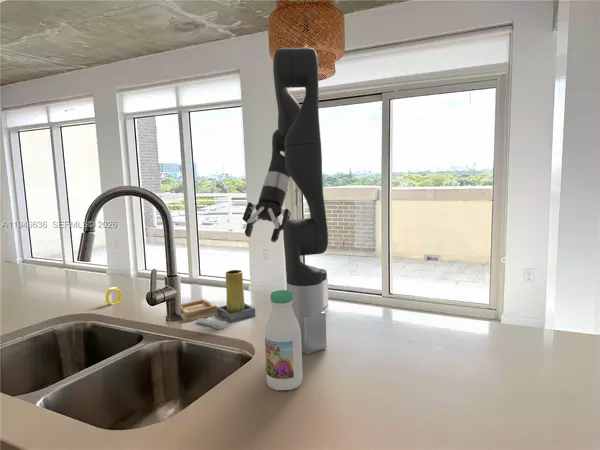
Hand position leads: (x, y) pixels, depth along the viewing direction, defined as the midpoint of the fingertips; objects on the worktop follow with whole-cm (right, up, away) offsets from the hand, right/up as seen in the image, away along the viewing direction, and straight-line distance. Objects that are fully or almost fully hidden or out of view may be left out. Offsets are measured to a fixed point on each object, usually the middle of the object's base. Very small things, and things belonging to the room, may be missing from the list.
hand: (260, 239), depth 123 cm
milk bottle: (+9, -30, -35) cm, 47 cm away
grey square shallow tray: (-9, -25, +8) cm, 28 cm away
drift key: (-15, -26, +1) cm, 30 cm away
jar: (+17, -23, +15) cm, 33 cm away
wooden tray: (-22, -25, +12) cm, 35 cm away
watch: (-55, -24, +25) cm, 65 cm away
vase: (-9, -25, +8) cm, 28 cm away
